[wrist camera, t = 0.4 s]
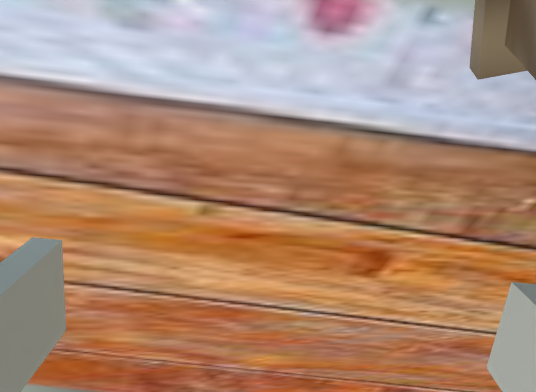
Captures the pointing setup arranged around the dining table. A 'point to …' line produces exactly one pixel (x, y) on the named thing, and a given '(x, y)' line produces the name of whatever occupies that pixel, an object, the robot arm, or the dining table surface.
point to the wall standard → (503, 38)
